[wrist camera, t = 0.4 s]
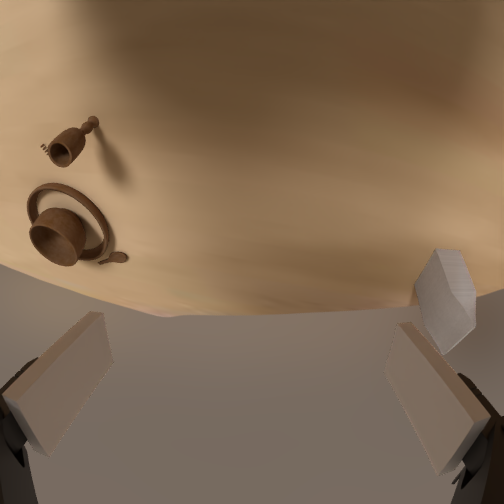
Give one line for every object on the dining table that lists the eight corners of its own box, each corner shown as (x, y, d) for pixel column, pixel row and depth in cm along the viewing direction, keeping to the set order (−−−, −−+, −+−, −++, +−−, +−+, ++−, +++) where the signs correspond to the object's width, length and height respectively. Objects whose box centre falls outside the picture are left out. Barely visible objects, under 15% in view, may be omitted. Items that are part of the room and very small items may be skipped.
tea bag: (414, 284, 34) (430, 356, 27) (435, 248, 29) (461, 327, 22) (436, 284, 33) (454, 353, 27) (459, 250, 28) (486, 324, 22)
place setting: (8, 185, 27) (-18, 217, 23) (94, 94, 20) (53, 126, 16) (90, 269, 39) (75, 303, 35) (199, 231, 31) (186, 276, 27)
